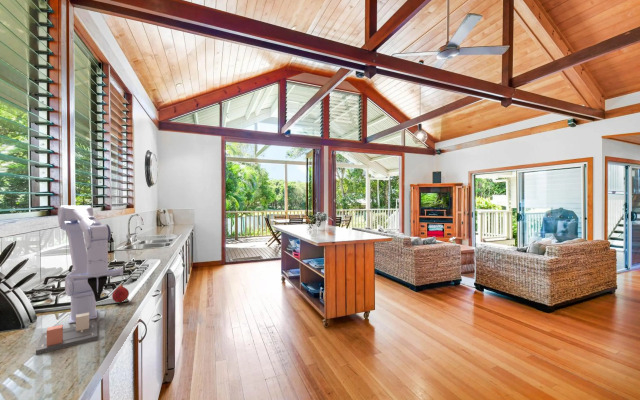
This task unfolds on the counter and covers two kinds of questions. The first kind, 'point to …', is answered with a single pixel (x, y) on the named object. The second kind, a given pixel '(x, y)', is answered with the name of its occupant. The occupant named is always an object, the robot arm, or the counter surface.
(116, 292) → the onion
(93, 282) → the robot arm
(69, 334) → the grey base plate
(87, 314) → the fader cream
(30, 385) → the counter surface
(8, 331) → the counter surface
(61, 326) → the block
